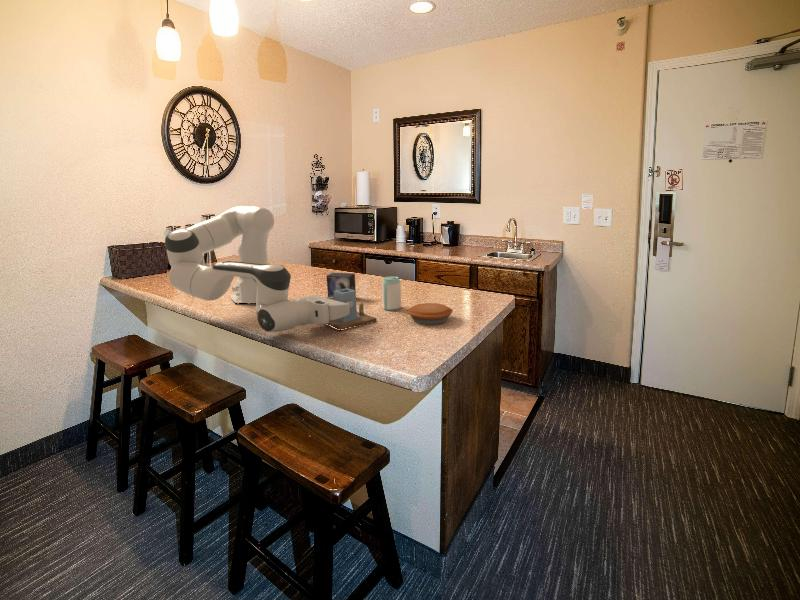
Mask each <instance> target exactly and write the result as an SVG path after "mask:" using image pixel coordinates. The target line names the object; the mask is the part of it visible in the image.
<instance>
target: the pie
mask: <svg viewBox="0 0 800 600" xmlns="http://www.w3.org/2000/svg"><path fill="white" fill-rule="evenodd" d="M407 314H408V315H409V316H410V317H411V319H412V321H414V323H417V324H418V323H419V325H423V324H425V325H426V326H434V325H435V326H436V324H437V325H441V324H444V323H446V322H447V320H448V318H449V317H450V316H451V315H452V314H453V309H452V308H451V307H449V306H447V305H445V304H442V303H434V302H428V303H426V302H425V303H419V304H415V305H413V306H411V307H409V309H408V310H407ZM425 325H424V326H425Z"/></svg>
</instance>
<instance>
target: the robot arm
mask: <svg viewBox="0 0 800 600" xmlns="http://www.w3.org/2000/svg"><path fill="white" fill-rule="evenodd" d="M274 224H275V217H274V214H273V213H272V211H270V210H269V209H267V208H265V207H262V206H259V205H237V206H234V207H231V208H230V209H227V210H226V211H224V212H222V213H221V214H219V215H216V216H214V217H211V218H210V219H206V220H204V221H201V222H198V223H196V224H194V225H191V226H189V227H187V228H177V229H174V230H171V231H170V232H169V233H168V234H167V235H166V236H165V238H164V247H165V249H166V255H167V260H168V262H169V265H170V267H171V268H170V270H169V272H168V281H169V283H170V285H171V286H172V287H173V288H175V289H177V290H178V291H179V292H182V293H184V294H185V295H188V296H191V297H194V298H197V299H200V300H203V301H209V302H210V301H215V300H219V299H220V298H222V297H223V296H224V295H225V294H226V293H227V292H228V290H229V289H230V287H231V284H232V282H233V280H234V278H236V277H237V278H238V279H237V280H236V281H235V283H234V286H232V287H231V289H232V290H231V291H232V293H233V294H230V295H229V298H230V300H231V301H232V300H233V301H234V302H235V303H256V304H255V313H256V315H257V316H256V317H257V322H258V325H259V327H260V328H261V329H262V330H263V331H265V332H268V333H275V332H276V333H277V332H284V331H288V330H291V329H295V327H298V326H306V325H313V324H316V325H317V324H318V325H319V324H321V325H324V324H327V323H329V320H336V319H339V318H342V317H345V316H347V315H349V313H350V308H349V307H352V306H353V302H352V301H347V302H346V303H344V302H340V301H336V300H334V297H328V296H325V297H324V296H320V295H315V294H311V295H306V296H302V297H298V298H294V299H293V300H289V289H290V284H291V278H292V275H291V273H290V272H289V271H288V269H287V268H286V267H285V266H284V265H282V264H276V263H269V262H268V250H267V249H268V246H267V245H268V239H269V235H270V232H271V230H272V229H273V227H274ZM239 236H242V239H241V243H240V246H239V247H238V249H237V250H238V251H237V252H238V261H235V260H234V261H233V260H223V261H221V260H220V261H218V262H216V263H214V264H213V265H212V266H208V265H206V262H205V257H204V254H207V253H210V252H213V251H215V250H217V249H219V248H222V247H225V246H226V245H229V244H231V243H232V242H233V241H234V240H235V239H237V238H238V237H239ZM233 301H232V302H233ZM234 302H233V303H234ZM235 303H234V304H235Z"/></svg>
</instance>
